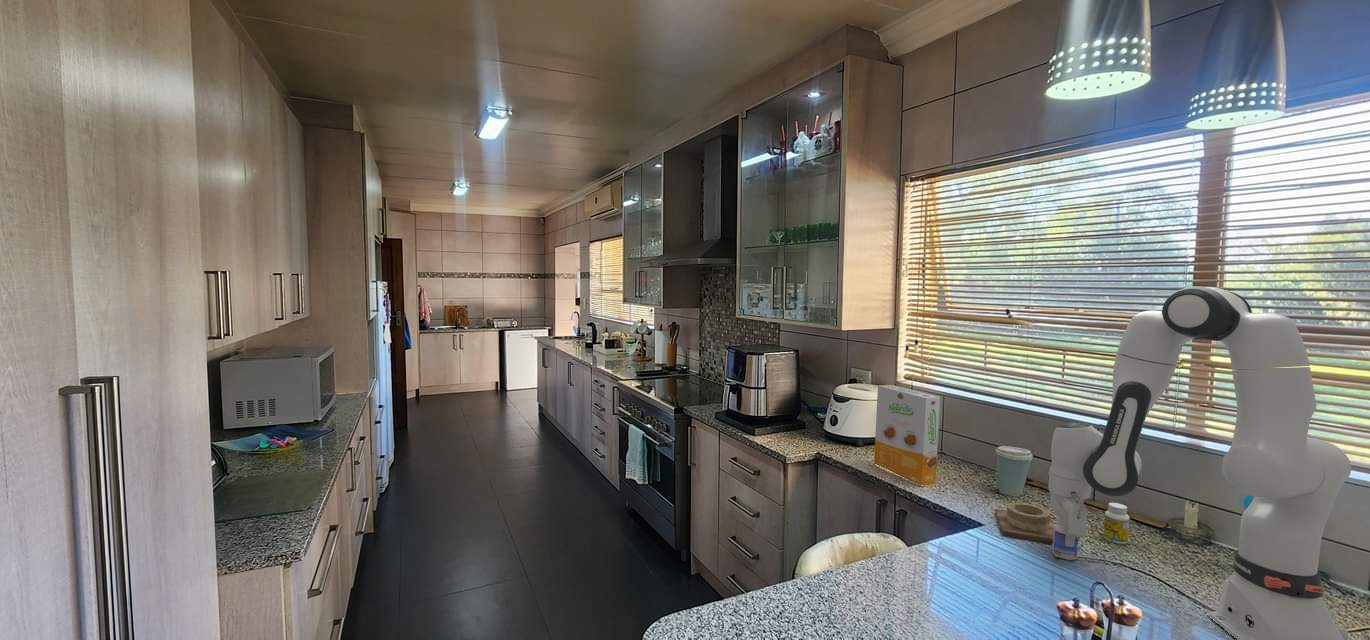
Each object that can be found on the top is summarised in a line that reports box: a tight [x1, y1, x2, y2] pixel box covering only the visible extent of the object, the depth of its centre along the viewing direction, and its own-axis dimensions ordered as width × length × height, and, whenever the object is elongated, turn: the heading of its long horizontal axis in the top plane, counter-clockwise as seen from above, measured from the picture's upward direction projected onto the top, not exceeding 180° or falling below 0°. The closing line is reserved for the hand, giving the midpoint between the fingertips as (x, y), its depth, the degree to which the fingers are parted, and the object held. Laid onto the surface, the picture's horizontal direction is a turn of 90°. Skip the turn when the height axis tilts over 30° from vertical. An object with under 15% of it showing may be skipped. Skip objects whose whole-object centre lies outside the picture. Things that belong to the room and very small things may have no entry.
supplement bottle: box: [1102, 502, 1131, 545], centre depth 154 cm, size 5×5×10 cm
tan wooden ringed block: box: [994, 502, 1055, 545], centre depth 160 cm, size 16×14×6 cm
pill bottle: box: [1051, 516, 1080, 561], centre depth 145 cm, size 5×5×10 cm
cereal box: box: [873, 384, 941, 485], centre depth 201 cm, size 22×6×30 cm, turn 24°
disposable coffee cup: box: [994, 445, 1034, 498], centre depth 187 cm, size 11×11×15 cm
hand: (1065, 539), depth 145 cm, fingers closed on pill bottle, 5 cm apart
